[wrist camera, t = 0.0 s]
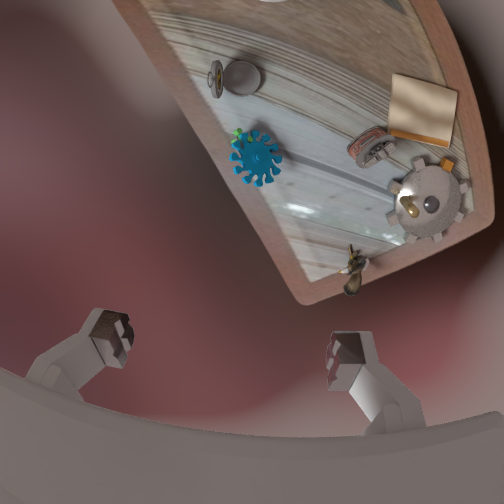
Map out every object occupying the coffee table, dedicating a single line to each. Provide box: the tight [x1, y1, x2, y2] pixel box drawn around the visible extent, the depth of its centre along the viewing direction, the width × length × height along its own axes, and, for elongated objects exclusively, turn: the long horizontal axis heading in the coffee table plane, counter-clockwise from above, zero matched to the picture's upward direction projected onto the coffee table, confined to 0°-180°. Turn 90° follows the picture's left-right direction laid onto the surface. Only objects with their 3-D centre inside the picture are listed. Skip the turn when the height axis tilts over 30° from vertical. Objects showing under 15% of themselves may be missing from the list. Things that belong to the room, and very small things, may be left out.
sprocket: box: [386, 156, 468, 245], centre depth 52 cm, size 20×20×8 cm
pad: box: [386, 74, 457, 149], centre depth 45 cm, size 12×14×1 cm
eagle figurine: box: [339, 245, 369, 296], centre depth 61 cm, size 8×7×9 cm
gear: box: [229, 128, 282, 187], centre depth 52 cm, size 11×6×10 cm
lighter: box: [347, 127, 397, 169], centre depth 46 cm, size 8×3×10 cm, turn 132°
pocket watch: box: [207, 60, 261, 98], centre depth 42 cm, size 8×8×10 cm
